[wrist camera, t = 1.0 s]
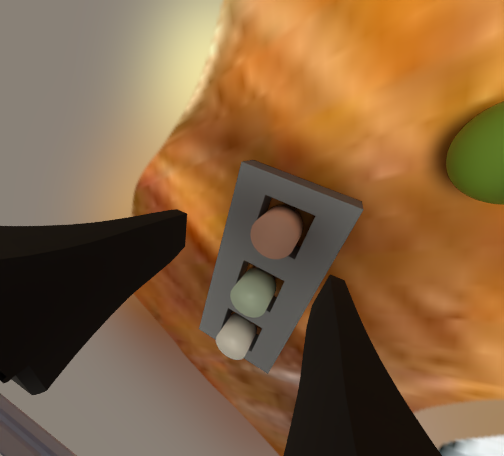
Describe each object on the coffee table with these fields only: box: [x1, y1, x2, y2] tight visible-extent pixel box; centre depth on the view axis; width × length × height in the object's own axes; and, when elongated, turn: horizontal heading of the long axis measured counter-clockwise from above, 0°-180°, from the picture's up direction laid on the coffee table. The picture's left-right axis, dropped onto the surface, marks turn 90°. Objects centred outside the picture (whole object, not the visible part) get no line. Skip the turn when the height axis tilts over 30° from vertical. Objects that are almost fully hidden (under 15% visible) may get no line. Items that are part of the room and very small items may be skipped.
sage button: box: [230, 267, 276, 318], centre depth 21 cm, size 4×4×3 cm
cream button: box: [216, 313, 257, 360], centre depth 24 cm, size 4×4×3 cm
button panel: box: [199, 160, 363, 374], centre depth 22 cm, size 22×10×2 cm, turn 162°
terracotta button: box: [250, 205, 303, 259], centre depth 17 cm, size 4×4×3 cm
